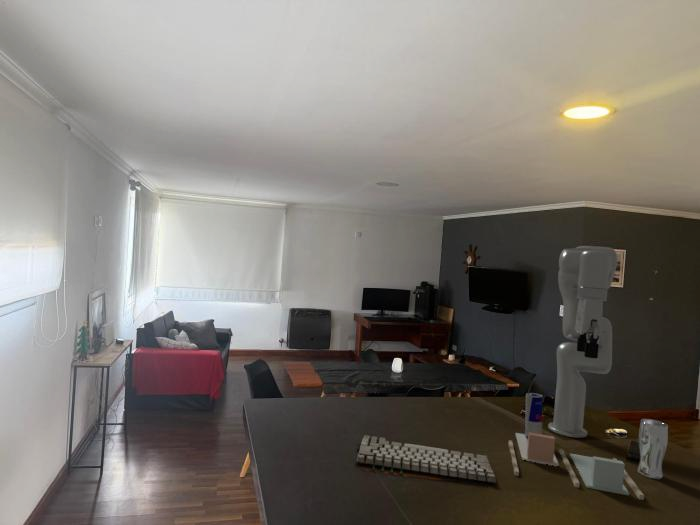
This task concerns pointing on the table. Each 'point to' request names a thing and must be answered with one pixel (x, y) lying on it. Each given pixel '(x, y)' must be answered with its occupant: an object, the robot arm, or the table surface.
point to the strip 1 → (537, 448)
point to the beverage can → (533, 414)
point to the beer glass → (652, 447)
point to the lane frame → (572, 474)
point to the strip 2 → (601, 473)
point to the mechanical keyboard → (422, 462)
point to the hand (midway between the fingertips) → (586, 354)
